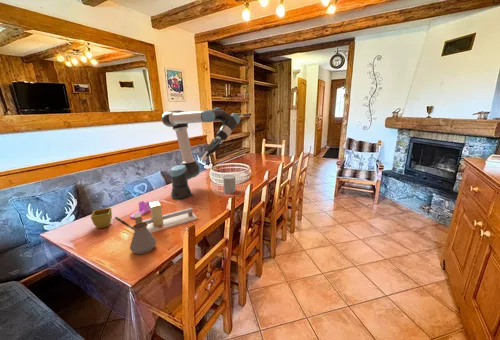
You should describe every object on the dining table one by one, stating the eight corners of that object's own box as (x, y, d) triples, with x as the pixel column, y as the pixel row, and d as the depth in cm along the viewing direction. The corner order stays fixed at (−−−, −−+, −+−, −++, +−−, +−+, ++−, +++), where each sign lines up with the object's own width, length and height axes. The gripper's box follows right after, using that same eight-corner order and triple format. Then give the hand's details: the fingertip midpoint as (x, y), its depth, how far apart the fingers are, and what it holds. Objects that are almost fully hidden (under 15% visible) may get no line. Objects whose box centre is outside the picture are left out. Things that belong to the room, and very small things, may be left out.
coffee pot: (162, 244, 108) (158, 217, 104) (144, 259, 98) (139, 229, 94) (129, 237, 115) (124, 211, 111) (109, 250, 105) (103, 222, 101)
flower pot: (97, 223, 130) (94, 210, 127) (114, 220, 133) (111, 207, 131) (93, 231, 122) (90, 216, 120) (111, 227, 125) (108, 213, 123)
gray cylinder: (233, 193, 171) (233, 179, 167) (222, 193, 173) (221, 178, 169) (237, 189, 180) (236, 175, 176) (226, 189, 182) (225, 175, 178)
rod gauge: (135, 227, 124) (132, 212, 122) (191, 212, 141) (190, 198, 139) (137, 236, 115) (134, 219, 113) (197, 219, 132) (195, 204, 130)
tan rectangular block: (152, 222, 127) (148, 202, 123) (160, 219, 129) (158, 200, 126) (154, 227, 121) (151, 207, 118) (163, 224, 124) (160, 204, 120)
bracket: (143, 209, 148) (142, 199, 146) (150, 210, 146) (149, 200, 144) (128, 218, 136) (126, 208, 134) (135, 219, 134) (133, 209, 133)
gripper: (232, 137, 146) (210, 165, 142) (223, 135, 156) (203, 161, 152) (224, 129, 141) (202, 158, 137) (216, 128, 152) (195, 155, 148)
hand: (202, 160), depth 145 cm, fingers closed
